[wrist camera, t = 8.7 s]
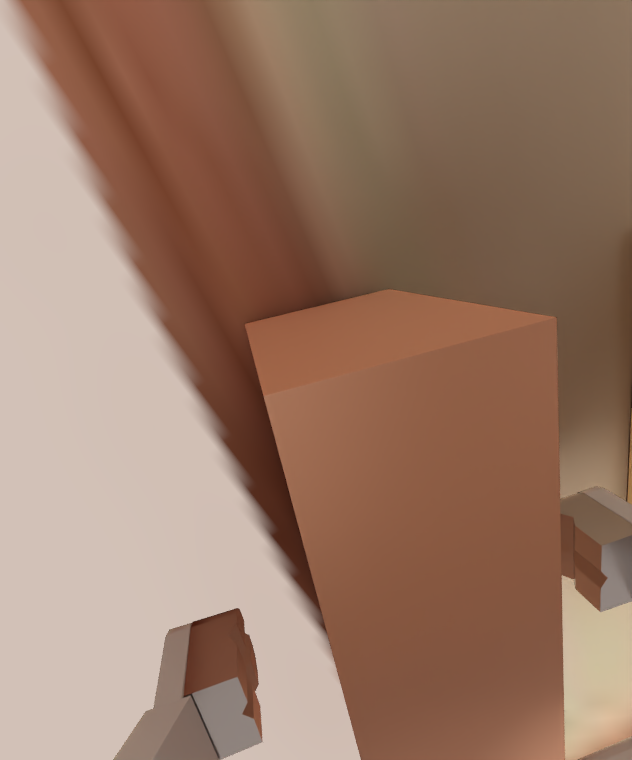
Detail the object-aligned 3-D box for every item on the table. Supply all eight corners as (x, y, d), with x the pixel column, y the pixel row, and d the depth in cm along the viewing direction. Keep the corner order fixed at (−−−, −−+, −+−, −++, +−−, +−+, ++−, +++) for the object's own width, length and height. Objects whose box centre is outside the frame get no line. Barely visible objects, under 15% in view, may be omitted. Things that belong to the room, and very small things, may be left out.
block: (388, 289, 11) (556, 316, 5) (437, 616, 15) (566, 834, 9) (244, 324, 10) (263, 395, 5) (333, 654, 14) (401, 911, 9)
